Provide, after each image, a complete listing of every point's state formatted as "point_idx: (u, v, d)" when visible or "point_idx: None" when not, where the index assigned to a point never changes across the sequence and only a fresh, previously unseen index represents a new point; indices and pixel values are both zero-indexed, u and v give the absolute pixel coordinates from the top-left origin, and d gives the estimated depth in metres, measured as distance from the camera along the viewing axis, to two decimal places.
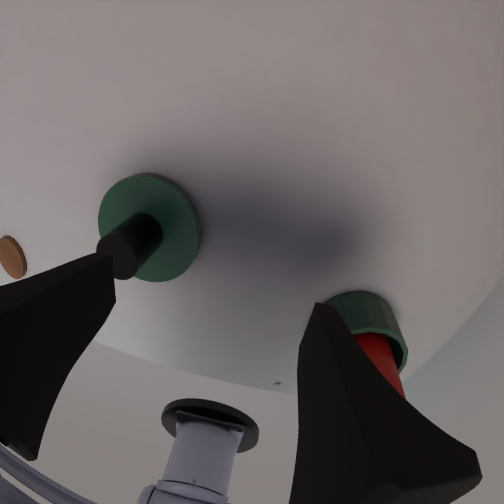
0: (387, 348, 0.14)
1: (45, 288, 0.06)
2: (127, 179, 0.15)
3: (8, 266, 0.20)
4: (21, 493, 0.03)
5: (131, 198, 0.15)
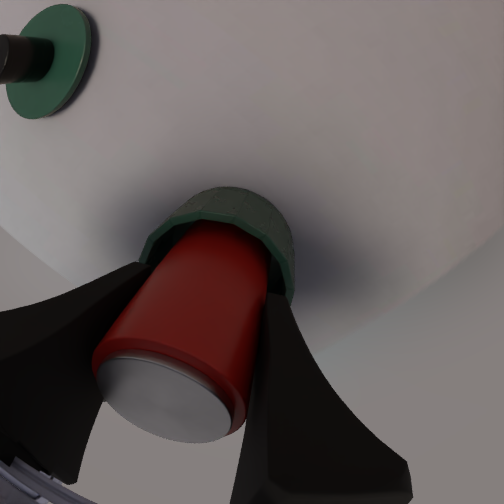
0: (257, 267, 0.10)
1: (89, 305, 0.06)
2: (50, 7, 0.08)
3: None
4: (21, 493, 0.03)
5: (44, 25, 0.09)
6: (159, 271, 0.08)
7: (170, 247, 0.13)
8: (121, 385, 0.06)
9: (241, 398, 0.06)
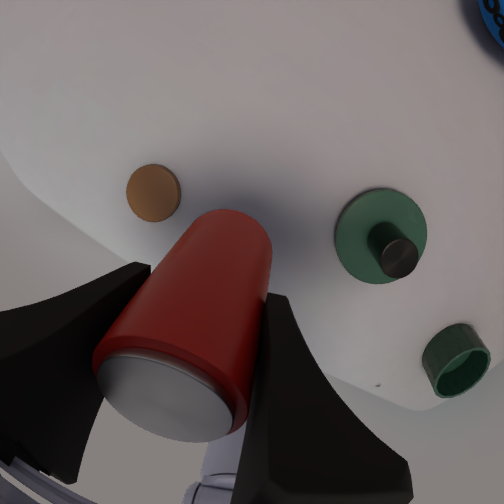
0: (258, 266, 0.10)
1: (88, 304, 0.06)
2: (396, 192, 0.17)
3: (141, 201, 0.19)
4: (21, 493, 0.03)
5: (391, 209, 0.17)
6: (160, 269, 0.08)
7: None
8: (122, 384, 0.06)
9: (243, 397, 0.06)
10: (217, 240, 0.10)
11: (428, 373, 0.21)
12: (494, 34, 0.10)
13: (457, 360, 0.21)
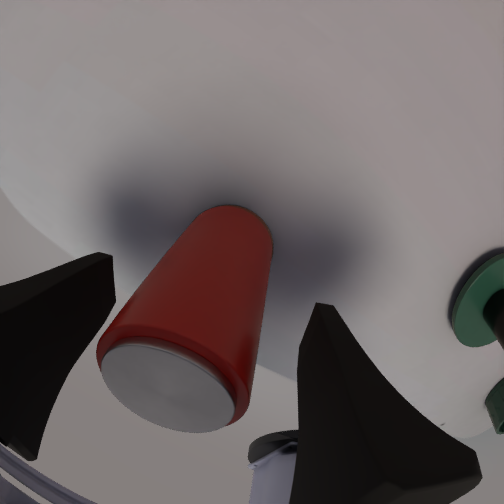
0: (258, 260, 0.10)
1: (45, 288, 0.06)
2: None
3: None
4: (21, 493, 0.03)
5: None
6: (163, 263, 0.08)
7: (496, 396, 0.16)
8: (126, 373, 0.06)
9: (244, 385, 0.06)
10: (218, 235, 0.10)
11: (492, 414, 0.16)
12: None
13: None
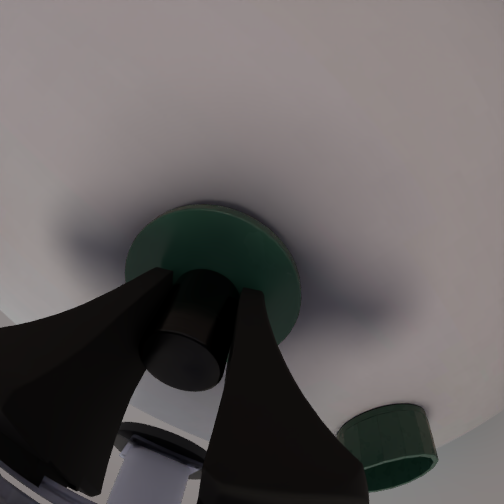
0: None
1: (116, 314, 0.06)
2: (214, 212, 0.09)
3: None
4: (21, 493, 0.03)
5: (208, 244, 0.09)
6: None
7: None
8: None
9: None
10: None
11: None
12: None
13: None
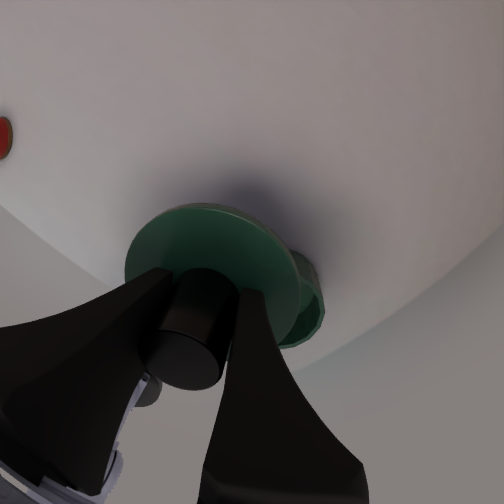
0: None
1: (116, 314, 0.06)
2: (214, 211, 0.09)
3: None
4: (21, 493, 0.03)
5: (208, 243, 0.09)
6: None
7: None
8: None
9: None
10: None
11: None
12: None
13: None
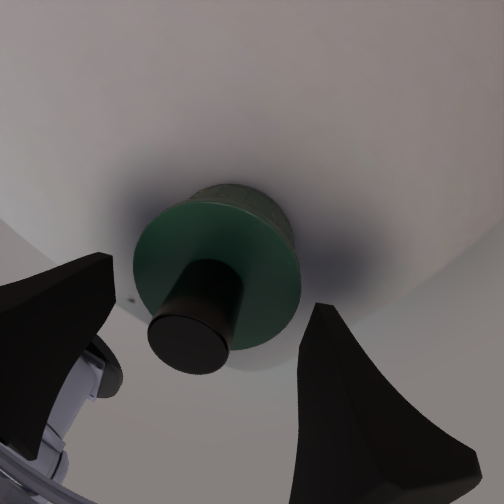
0: None
1: (45, 288, 0.06)
2: (219, 204, 0.09)
3: None
4: (21, 493, 0.03)
5: (213, 235, 0.10)
6: None
7: None
8: None
9: None
10: None
11: None
12: None
13: None
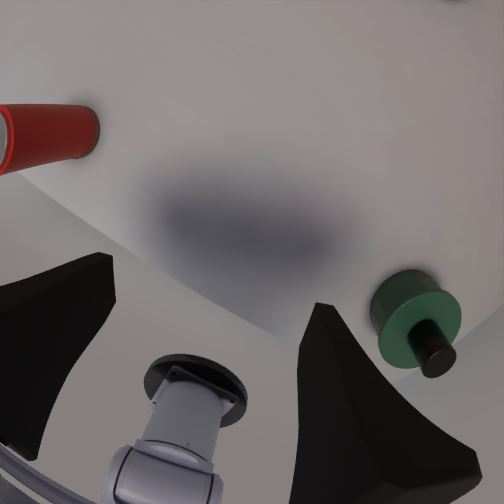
0: (65, 113, 0.14)
1: (45, 288, 0.06)
2: (441, 293, 0.16)
3: None
4: (21, 493, 0.03)
5: (433, 307, 0.16)
6: None
7: None
8: None
9: (12, 124, 0.10)
10: (50, 104, 0.14)
11: (376, 328, 0.20)
12: None
13: None
